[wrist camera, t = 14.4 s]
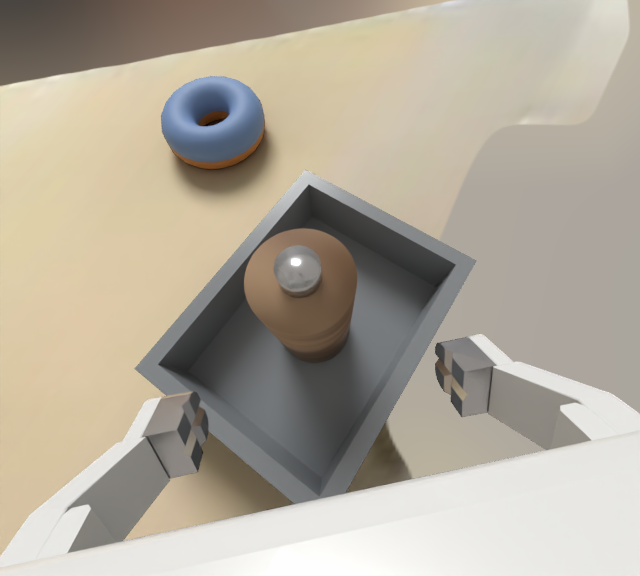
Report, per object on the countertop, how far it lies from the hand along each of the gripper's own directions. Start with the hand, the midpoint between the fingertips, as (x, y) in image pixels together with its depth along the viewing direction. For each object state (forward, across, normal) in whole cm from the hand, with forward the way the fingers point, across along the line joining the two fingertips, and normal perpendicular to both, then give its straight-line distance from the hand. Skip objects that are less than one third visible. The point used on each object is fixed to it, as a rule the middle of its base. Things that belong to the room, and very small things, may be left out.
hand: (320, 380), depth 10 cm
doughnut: (+28, +6, -9) cm, 30 cm away
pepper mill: (+12, 0, +5) cm, 13 cm away
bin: (+12, 0, +6) cm, 14 cm away
